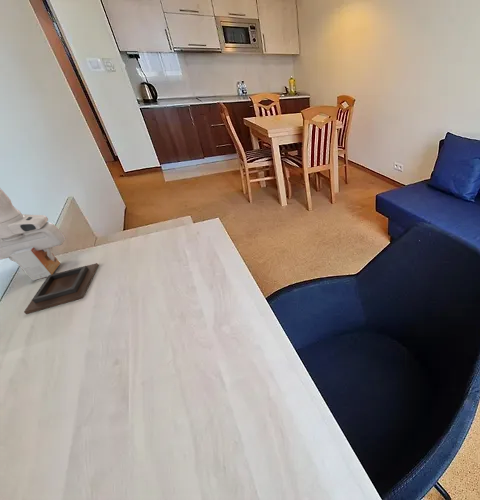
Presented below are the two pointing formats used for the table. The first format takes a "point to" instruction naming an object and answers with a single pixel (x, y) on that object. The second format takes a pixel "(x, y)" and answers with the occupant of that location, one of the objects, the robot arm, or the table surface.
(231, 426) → the table surface
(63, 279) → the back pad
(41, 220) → the robot arm
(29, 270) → the small box
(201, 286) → the table surface
